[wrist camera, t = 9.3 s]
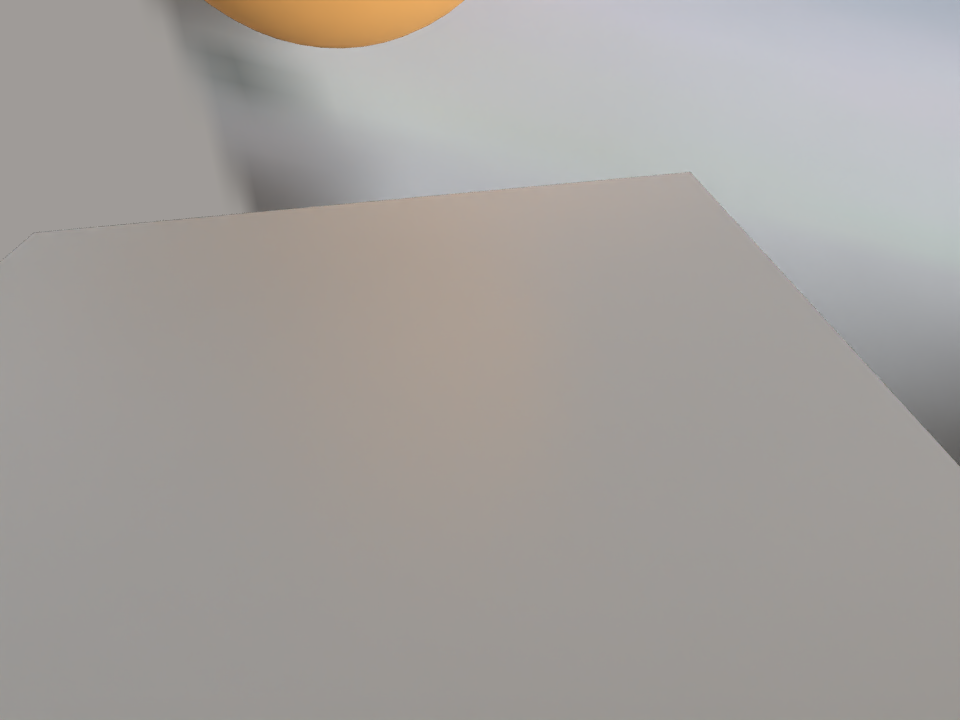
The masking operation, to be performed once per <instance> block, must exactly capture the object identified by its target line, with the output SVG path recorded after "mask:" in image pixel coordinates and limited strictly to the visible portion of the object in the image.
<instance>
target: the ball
mask: <svg viewBox="0 0 960 720" xmlns="http://www.w3.org/2000/svg"><path fill="white" fill-rule="evenodd" d="M205 1H206V2H207V3H208V4H210V5H211V6H213V7H214V8H216V9H218V10H219V11H221V12H222V13H224V14H225V15H227V16H229V17H230V18H232V19H234V20H235V21H237V22H239V23H241V24H243V25H245V26H247V27H249V28H251V29H253V30H255V31H258V32H260V33H263V34H266V35H268V36H271V37H274V38H276V39H280V40H284V41H288V42H292V43H295V44H300V45H307V46H314V47H321V48H352V47H363V46H369V45H374V44H379V43H384V42H387V41H390V40H394V39H397V38H400V37H403V36H405V35H408V34H410V33H412V32H414V31H417V30H419V29H421V28H423V27H425V26H428V25H429V24H431V23H433V22H434V21H436V20H438V19H439V18H441V17H443V16H444V15H446V14H447V13H449V12H450V11H451V10H453V9H454V8H455V7H456V6H458V5H459V4H460V3H462V2H463V1H464V0H205Z"/></svg>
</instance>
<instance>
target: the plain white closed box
mask: <svg viewBox="0 0 960 720" xmlns="http://www.w3.org/2000/svg"><path fill="white" fill-rule="evenodd" d="M0 720H960V466H959V465H958V464H957V463H956V462H955V461H954V459H953V458H952V457H951V456H950V455H949V454H948V453H947V452H946V451H945V450H944V449H943V447H942V446H941V445H940V444H939V443H938V442H937V441H936V440H935V439H934V438H933V437H932V435H931V434H930V433H929V432H928V431H927V430H926V429H925V428H924V427H923V426H922V425H921V423H920V422H919V421H918V420H917V419H916V418H915V417H914V416H913V415H912V414H911V413H910V411H909V410H908V409H907V408H906V407H905V406H904V405H903V404H902V403H901V402H900V400H899V399H898V398H897V397H896V396H895V395H894V394H893V393H892V392H891V391H890V390H889V388H888V387H887V386H886V385H885V384H884V383H883V382H882V381H881V380H880V379H879V378H878V376H877V375H876V374H875V373H874V372H873V371H872V370H871V369H870V368H869V367H868V366H867V364H866V363H865V362H864V361H863V360H862V359H861V358H860V357H859V356H858V355H857V354H856V352H855V351H854V350H853V349H852V348H851V347H850V346H849V345H848V344H847V343H846V342H845V340H844V339H843V338H842V337H841V336H840V335H839V334H838V333H837V332H836V331H835V330H834V328H833V327H832V326H831V325H830V324H829V323H828V322H827V321H826V320H825V319H824V317H823V316H822V315H821V314H820V313H819V312H818V311H817V310H816V309H815V308H814V307H813V305H812V304H811V303H810V302H809V301H808V300H807V299H806V298H805V297H804V296H803V295H802V293H801V292H800V291H799V290H798V289H797V288H796V287H795V286H794V285H793V284H792V283H791V281H790V280H789V279H788V278H787V277H786V276H785V275H784V274H783V273H782V272H781V271H780V269H779V268H778V267H777V266H776V265H775V264H774V263H773V262H772V261H771V260H770V259H769V257H768V256H767V255H766V254H765V253H764V252H763V251H762V250H761V249H760V248H759V247H758V245H757V244H756V243H755V242H754V241H753V240H752V239H751V238H750V237H749V236H748V234H747V233H746V232H745V231H744V230H743V229H742V228H741V227H740V226H739V225H738V224H737V222H736V221H735V220H734V219H733V218H732V217H731V216H730V215H729V214H728V213H727V212H726V210H725V209H724V208H723V207H722V206H721V205H720V204H719V203H718V202H717V201H716V200H715V198H714V197H713V196H712V195H711V194H710V193H709V192H708V191H707V190H706V189H705V188H704V186H703V185H702V184H701V183H700V182H699V181H698V180H697V179H696V178H695V177H694V176H693V174H692V173H691V172H685V173H674V174H663V175H652V176H641V177H631V178H620V179H609V180H598V181H587V182H577V183H566V184H555V185H544V186H533V187H522V188H512V189H501V190H490V191H479V192H468V193H458V194H447V195H436V196H425V197H414V198H403V199H393V200H382V201H371V202H360V203H349V204H339V205H328V206H317V207H306V208H295V209H284V210H274V211H263V212H252V213H242V214H230V215H221V216H210V217H198V218H188V219H177V220H165V221H156V222H144V223H133V224H123V225H112V226H101V227H90V228H79V229H68V230H57V231H47V232H36V233H33V234H32V235H31V236H29V237H28V238H27V239H26V240H25V241H24V242H23V243H21V244H20V245H19V246H18V247H17V248H16V249H14V250H13V251H12V252H11V253H10V254H9V255H7V256H6V257H5V258H4V259H3V260H2V261H0Z"/></svg>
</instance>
